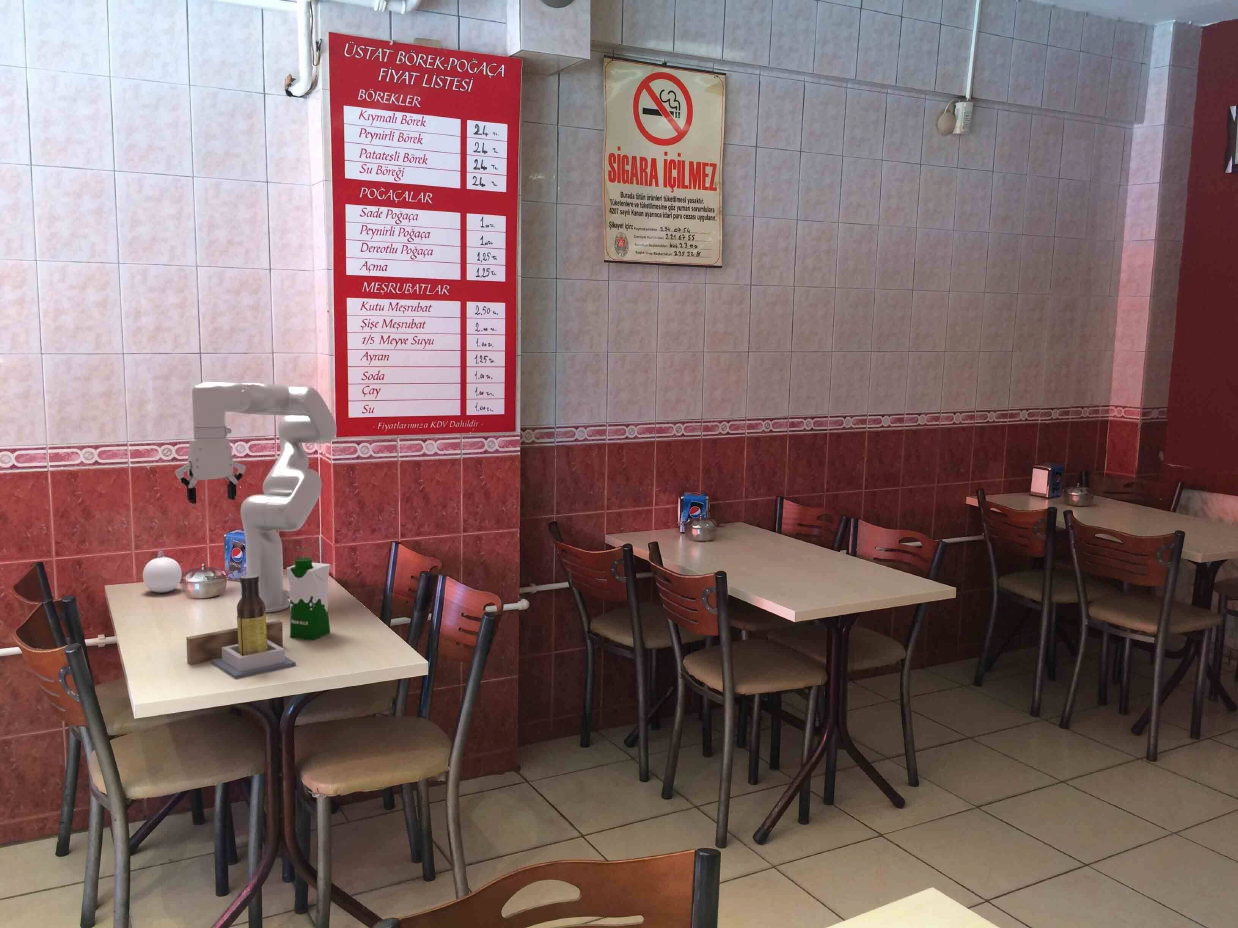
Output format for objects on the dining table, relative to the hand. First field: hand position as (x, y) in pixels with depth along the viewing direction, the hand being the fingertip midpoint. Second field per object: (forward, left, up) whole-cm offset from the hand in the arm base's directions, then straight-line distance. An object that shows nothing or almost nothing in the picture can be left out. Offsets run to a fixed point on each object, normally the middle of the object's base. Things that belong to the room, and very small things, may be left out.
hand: (212, 501), depth 252 cm
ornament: (-2, -47, -34) cm, 58 cm away
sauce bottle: (+4, +33, -33) cm, 46 cm away
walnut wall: (+4, +23, -33) cm, 41 cm away
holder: (+4, +33, -33) cm, 47 cm away
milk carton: (-16, +20, -34) cm, 42 cm away
